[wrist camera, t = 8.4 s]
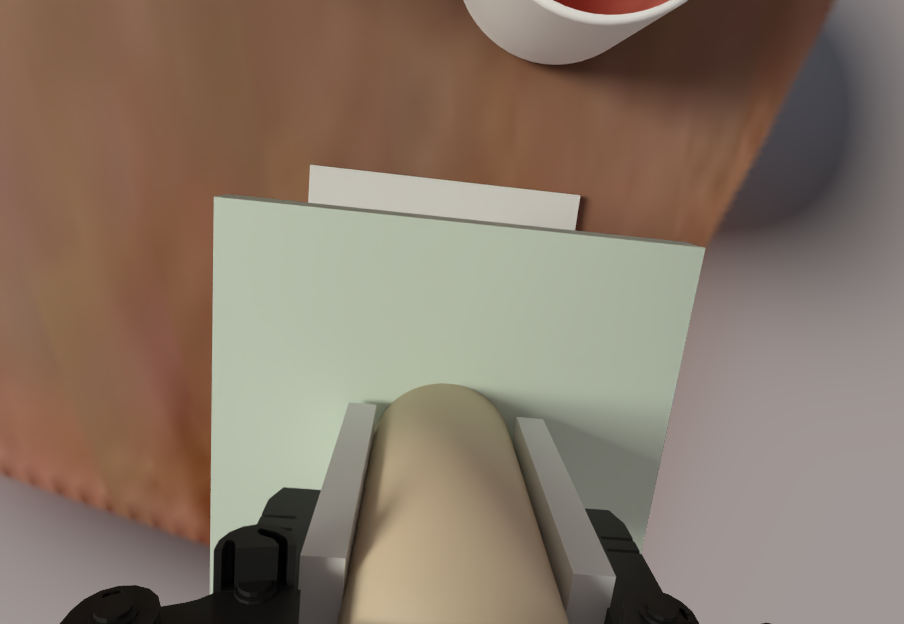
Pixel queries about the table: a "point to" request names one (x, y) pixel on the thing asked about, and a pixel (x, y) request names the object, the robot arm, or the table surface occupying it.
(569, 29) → the cup
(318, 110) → the table surface
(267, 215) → the lid
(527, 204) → the mat
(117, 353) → the table surface
